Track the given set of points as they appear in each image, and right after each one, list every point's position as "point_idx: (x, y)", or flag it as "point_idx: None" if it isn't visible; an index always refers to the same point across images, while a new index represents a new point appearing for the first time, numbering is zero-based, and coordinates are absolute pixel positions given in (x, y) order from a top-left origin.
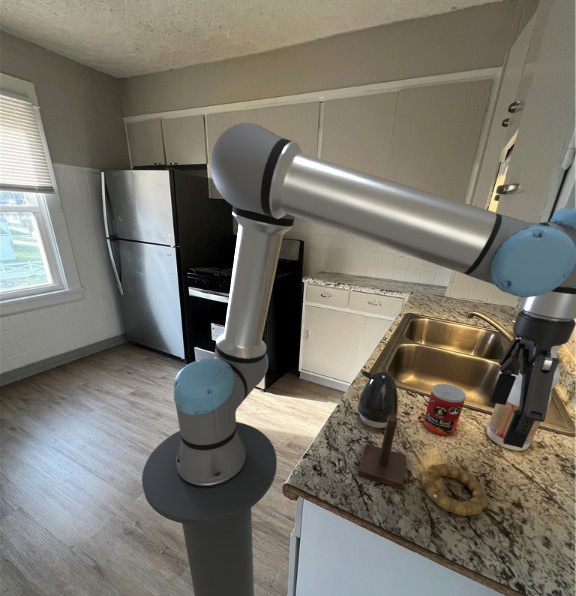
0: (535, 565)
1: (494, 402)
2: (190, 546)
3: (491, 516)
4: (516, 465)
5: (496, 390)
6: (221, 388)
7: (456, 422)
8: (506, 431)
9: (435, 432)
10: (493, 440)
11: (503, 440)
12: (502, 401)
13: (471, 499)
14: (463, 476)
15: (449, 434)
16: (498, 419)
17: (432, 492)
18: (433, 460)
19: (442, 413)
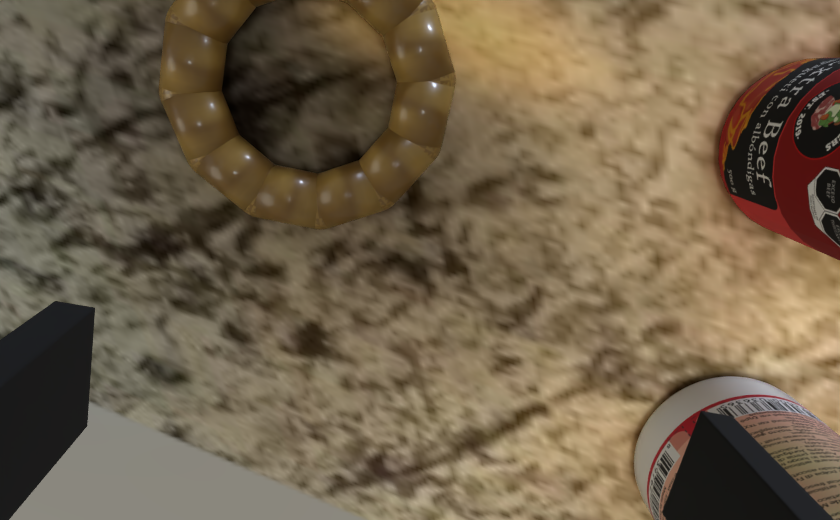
0: (48, 296)
1: (691, 442)
2: None
3: (222, 220)
4: (540, 423)
5: (773, 514)
6: None
7: (779, 226)
8: None
9: (733, 109)
10: (689, 387)
11: (77, 310)
12: (685, 508)
13: (241, 147)
14: (377, 152)
15: (725, 187)
16: (771, 449)
17: None
18: (512, 47)
19: (818, 128)
